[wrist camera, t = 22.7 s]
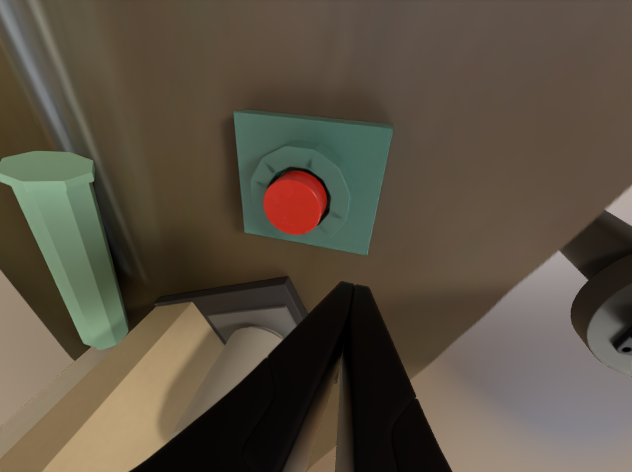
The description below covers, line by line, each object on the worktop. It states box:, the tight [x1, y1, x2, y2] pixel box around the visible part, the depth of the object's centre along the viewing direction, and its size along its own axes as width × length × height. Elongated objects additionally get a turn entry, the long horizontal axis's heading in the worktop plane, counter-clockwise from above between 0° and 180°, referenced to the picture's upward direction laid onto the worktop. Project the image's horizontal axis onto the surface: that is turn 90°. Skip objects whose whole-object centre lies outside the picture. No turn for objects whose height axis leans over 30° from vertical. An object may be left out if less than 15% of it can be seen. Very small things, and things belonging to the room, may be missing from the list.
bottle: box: [0, 346, 115, 458], centre depth 32 cm, size 12×12×25 cm
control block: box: [233, 109, 393, 255], centre depth 18 cm, size 10×9×4 cm
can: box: [169, 326, 284, 440], centre depth 24 cm, size 8×8×12 cm
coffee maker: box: [0, 277, 338, 472], centre depth 21 cm, size 18×15×24 cm
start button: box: [263, 171, 327, 235], centre depth 16 cm, size 4×4×2 cm
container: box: [0, 151, 128, 350], centre depth 28 cm, size 6×6×25 cm
